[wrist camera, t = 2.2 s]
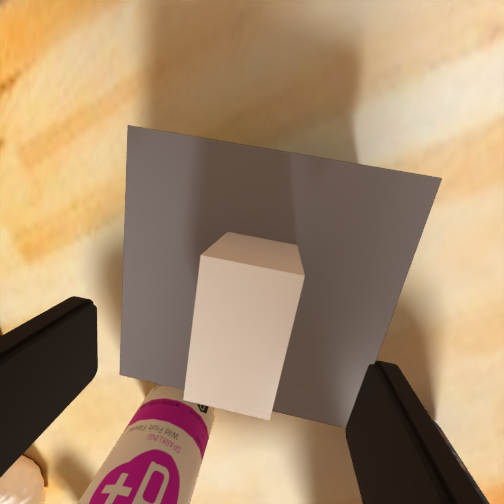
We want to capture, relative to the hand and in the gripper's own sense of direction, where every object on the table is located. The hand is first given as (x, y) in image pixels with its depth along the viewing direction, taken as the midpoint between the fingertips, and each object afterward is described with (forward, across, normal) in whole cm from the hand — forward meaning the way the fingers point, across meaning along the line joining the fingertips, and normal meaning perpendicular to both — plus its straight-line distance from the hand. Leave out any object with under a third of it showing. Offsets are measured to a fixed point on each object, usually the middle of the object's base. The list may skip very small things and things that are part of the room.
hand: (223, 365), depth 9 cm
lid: (+9, 0, +1) cm, 9 cm away
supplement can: (+16, +6, +21) cm, 27 cm away
